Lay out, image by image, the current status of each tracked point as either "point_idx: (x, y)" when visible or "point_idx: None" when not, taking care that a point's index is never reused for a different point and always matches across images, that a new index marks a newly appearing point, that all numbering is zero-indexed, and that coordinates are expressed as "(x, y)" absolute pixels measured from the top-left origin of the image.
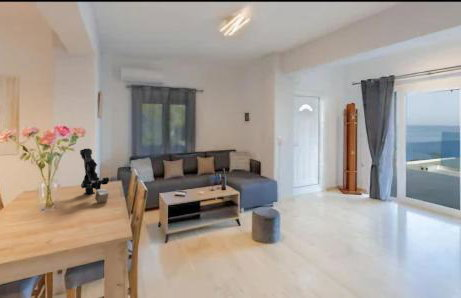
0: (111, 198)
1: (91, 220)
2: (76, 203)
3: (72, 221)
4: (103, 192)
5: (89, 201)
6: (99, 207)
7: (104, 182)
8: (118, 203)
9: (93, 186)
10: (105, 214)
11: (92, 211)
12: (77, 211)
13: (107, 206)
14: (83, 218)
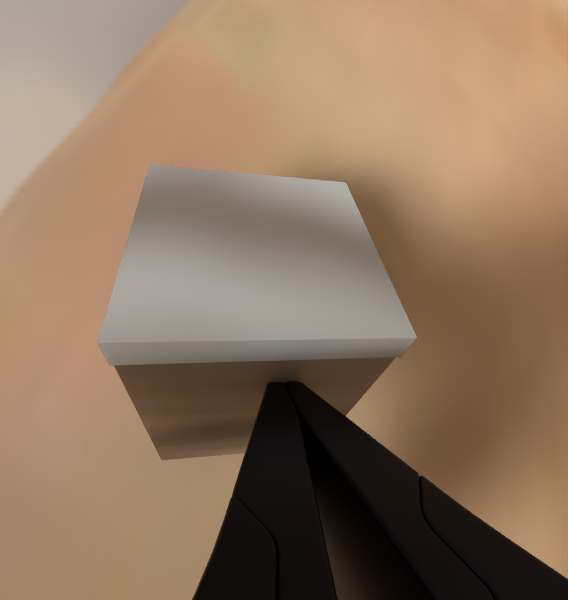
0: (4, 469)
1: (462, 11)
2: None
3: (556, 82)
4: (261, 199)
5: None
6: None
7: None
8: (113, 153)
9: None
10: (361, 18)
11: (420, 144)
12: (521, 241)
13: (263, 159)
14: (497, 72)
